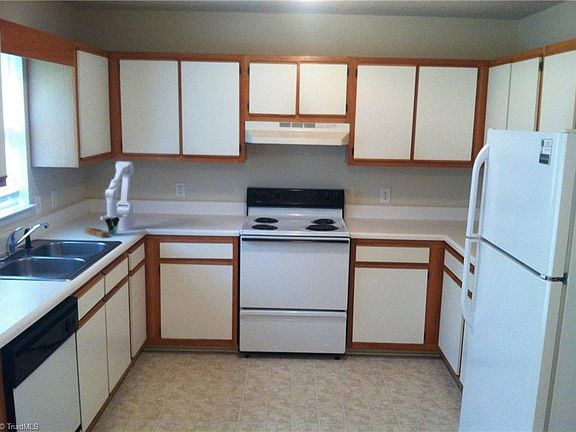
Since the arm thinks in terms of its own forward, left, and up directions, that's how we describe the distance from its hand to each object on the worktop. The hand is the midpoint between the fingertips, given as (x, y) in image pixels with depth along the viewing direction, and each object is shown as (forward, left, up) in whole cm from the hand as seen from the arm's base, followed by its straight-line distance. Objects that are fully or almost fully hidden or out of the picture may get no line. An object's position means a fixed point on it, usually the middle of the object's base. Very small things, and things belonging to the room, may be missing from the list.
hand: (112, 230), depth 320 cm
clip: (0, 0, -3) cm, 3 cm away
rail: (+7, -6, -3) cm, 10 cm away
